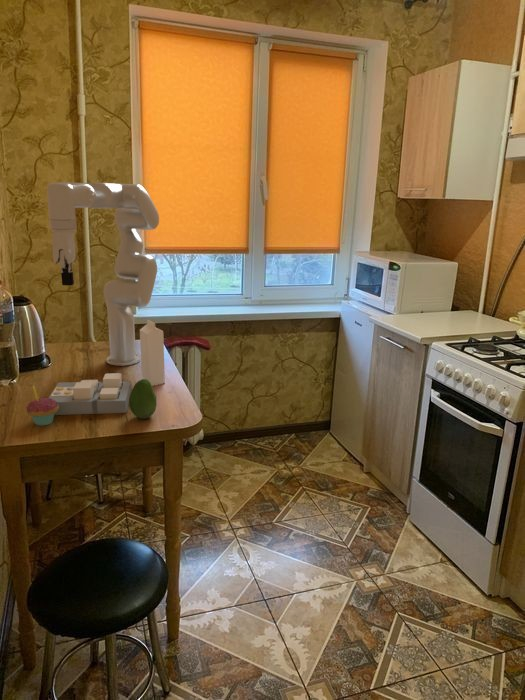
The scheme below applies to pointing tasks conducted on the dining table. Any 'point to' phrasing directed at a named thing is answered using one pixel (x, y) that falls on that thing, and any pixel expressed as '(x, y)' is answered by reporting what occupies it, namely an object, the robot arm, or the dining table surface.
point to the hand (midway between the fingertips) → (68, 284)
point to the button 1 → (83, 391)
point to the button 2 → (93, 383)
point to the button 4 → (109, 393)
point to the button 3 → (112, 380)
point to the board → (94, 406)
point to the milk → (152, 354)
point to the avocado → (142, 399)
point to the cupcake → (42, 409)
